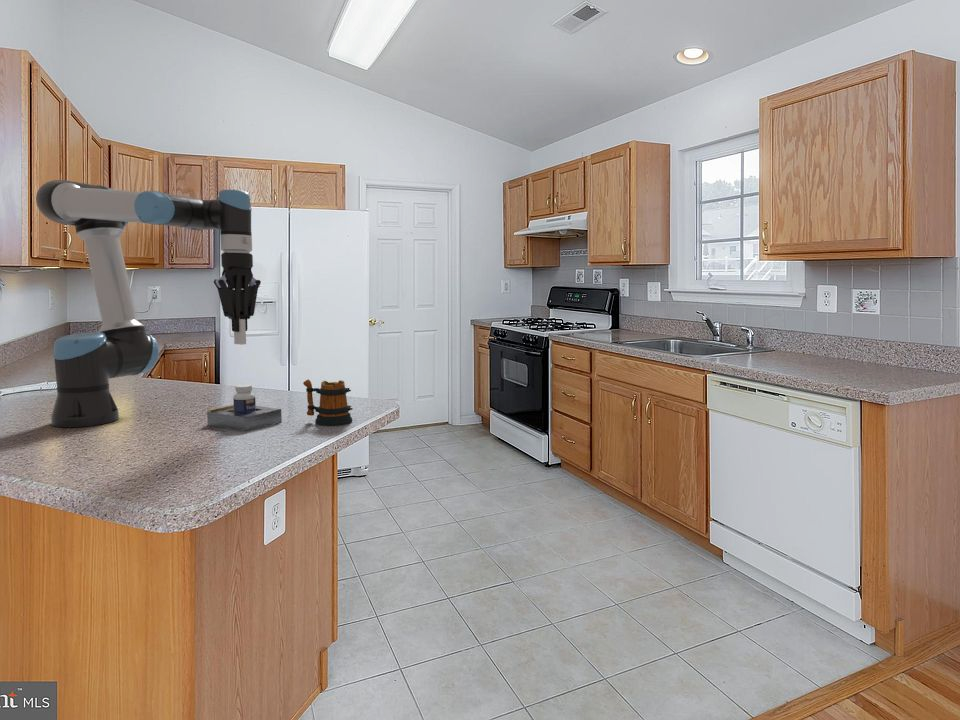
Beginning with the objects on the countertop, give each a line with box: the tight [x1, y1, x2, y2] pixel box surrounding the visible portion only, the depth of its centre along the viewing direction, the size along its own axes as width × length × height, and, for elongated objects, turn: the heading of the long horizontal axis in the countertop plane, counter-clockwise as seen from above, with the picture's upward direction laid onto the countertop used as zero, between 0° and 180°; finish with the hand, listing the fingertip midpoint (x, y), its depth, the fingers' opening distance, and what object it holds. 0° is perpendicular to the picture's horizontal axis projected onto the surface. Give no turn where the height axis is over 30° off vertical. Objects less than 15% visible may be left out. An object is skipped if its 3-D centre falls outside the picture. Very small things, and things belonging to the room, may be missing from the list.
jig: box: [206, 403, 283, 432], centre depth 162 cm, size 14×12×4 cm
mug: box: [302, 379, 353, 427], centre depth 163 cm, size 13×10×12 cm
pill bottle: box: [232, 384, 257, 414], centre depth 161 cm, size 5×5×10 cm
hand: (240, 343), depth 161 cm, fingers closed
